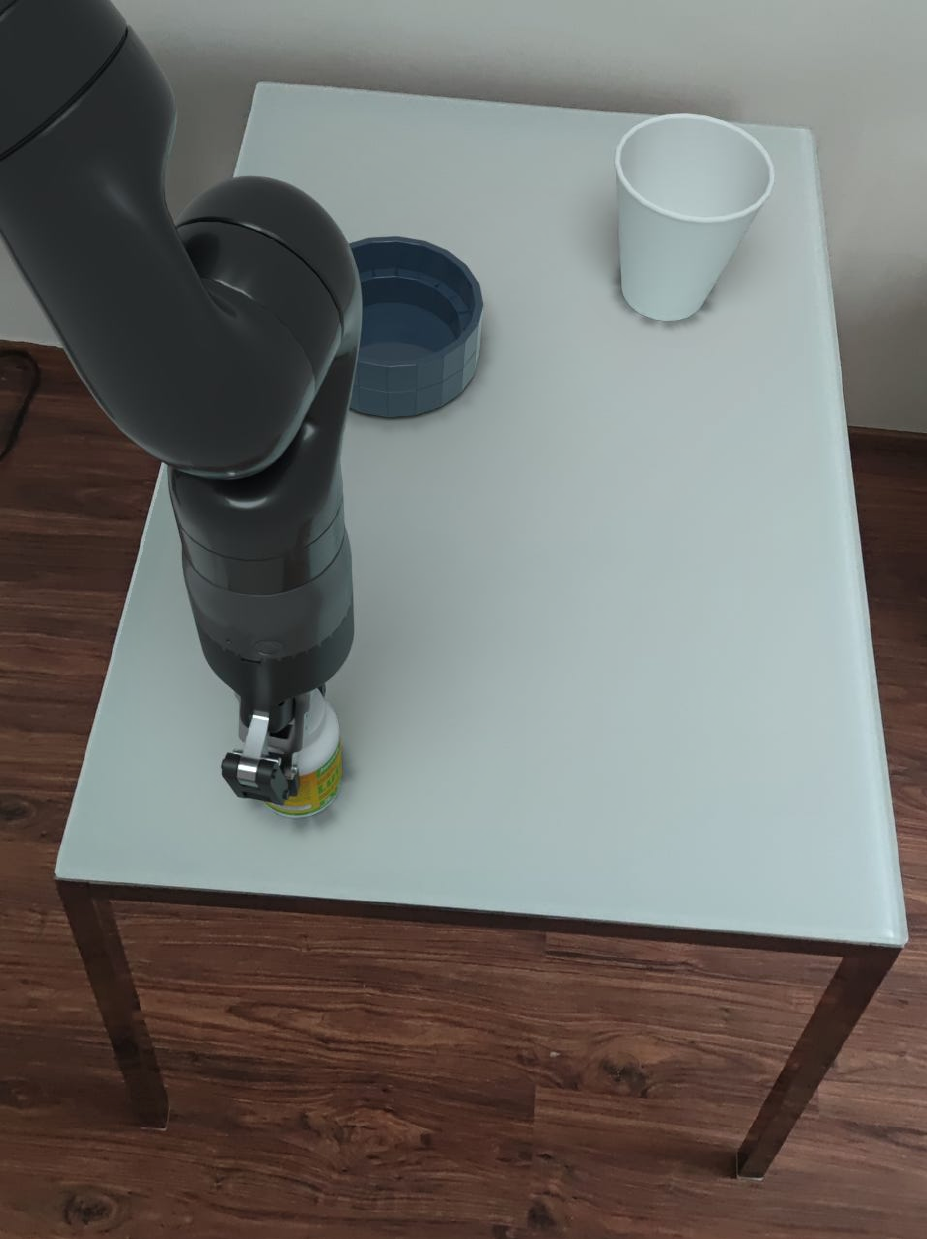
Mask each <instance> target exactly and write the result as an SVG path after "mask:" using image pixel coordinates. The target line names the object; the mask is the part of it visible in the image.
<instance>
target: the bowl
mask: <svg viewBox="0 0 927 1239" xmlns="http://www.w3.org/2000/svg"><path fill="white" fill-rule="evenodd" d="M348 244H349V246H350V248H351V250H352V253H353V256H354V259H355V262H356V265H357V268H358V272H359V276H360V281H361V288H362V300H363V311H362V329H361V338H360V346H359V353H358V359H357V366H356V372H355V378H354V384H353V390H352V396H351V401H350V406H349V409H351V410H355V411H357V412H359V413H360V414H361V413H363V414H366V415H367V414H368V415H373V416H379V417H384V418H385V417H386V418H392V417H393V418H394V417H407V416H408V417H409V416H415V415H416V416H418V415H420V414H423V413H426V412H429V411H433V410H436V409H438V408H441V407H443V406H445V405H446V404H448V402H450V401H451V400H453V399H454V398H456V397H458V396H459V395H460V394H461V393H462V392H463V391H464V390H465V388H466V387H467V385H468V384H469V383H470V381H471V380H472V379H473V377H474V376H475V374H476V370H477V366H478V361H479V357H480V347H481V336H482V324H483V313H484V312H483V311H484V300H483V295H482V290H481V289H482V288H481V285H480V282H479V281H478V279H477V278H476V277H475V275H474V274H473V272H472V271H471V269H470V268H469V266H468V265H467V264H466V263H465V262H464V261H462V260H461V259H460V258H458V257H457V256H456V255H455V254H453V253H452V252H451V251H449V250H448V249H445V248H444V247H441V246H438V245H436V244H434V243H431V242H429V241H427V240H422V239H419V238H418V239H417V238H412V237H405V236H401V235H391V236H390V235H389V236H371V237H366V238H362V239H358V240H355V241H352V242H348Z"/></svg>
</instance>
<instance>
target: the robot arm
mask: <svg viewBox="0 0 927 1239" xmlns="http://www.w3.org/2000/svg"><path fill="white" fill-rule="evenodd" d="M177 121H178V105H177V98H176V96H175V92H174V90H173V88H172V85H171V83H170V81H169V79H168V77H167V75H166V74H165V72H164V71H163V69H162V67H161V66H160V65H159V63H158V61H157V59H155V57H154V56H153V54H152V53H151V51H150V50H149V49H148V47H147V46H146V45H145V43H144V41H143V40H142V39H141V38H140V36H139V35H138V33H136V31H135V30H134V29H133V27H132V26H131V25H130V24H127V20H126V19H125V17H124V16H123V15H122V13H121V12H120V10H119V9H118V8H117V7H116V5H115V4H114V3H113V2H112V0H0V242H1V245H2V246H3V247H4V249H5V252H6V253H7V255H8V257H9V258H10V261H11V262H12V264H13V266H14V267H15V269H16V271H17V273H18V274H19V277H20V278H21V280H22V282H23V283H24V285H25V287H26V288H27V289H28V291H29V293H30V294H31V296H32V298H33V299H34V301H35V303H36V305H37V306H38V308H39V309H40V311H41V313H42V315H43V316H44V318H45V319H46V321H47V323H48V325H49V326H50V328H51V330H52V332H53V333H54V335H55V337H56V338H57V340H58V342H59V344H60V345H61V347H62V349H63V351H64V352H65V354H66V356H67V357H68V360H69V361H70V363H71V364H72V367H73V368H74V370H75V371H76V373H77V374H78V376H79V378H80V379H81V381H82V382H83V385H85V387H86V389H87V390H88V392H89V393H90V394H91V396H92V398H93V399H94V401H95V402H96V404H97V405H98V406H99V407H100V409H101V410H102V411H103V413H105V415H106V416H107V417H108V418H109V420H111V422H112V423H113V424H114V425H115V426H116V427H117V429H118V430H119V431H120V432H122V433H123V434H124V435H125V436H126V437H127V438H128V439H129V440H130V441H131V442H133V443H134V444H135V445H136V446H137V447H139V448H140V449H141V450H143V451H144V452H145V453H146V454H148V455H149V456H151V457H153V458H154V459H156V460H158V461H160V462H161V463H163V464H164V465H166V466H167V467H166V472H167V485H168V486H167V487H168V493H169V499H170V504H171V508H172V511H173V515H174V520H175V524H176V527H177V532H178V535H179V540H180V543H181V569H182V574H183V580H184V584H185V588H186V592H187V596H188V600H189V604H190V608H191V611H192V615H193V619H194V624H195V627H196V632H197V635H198V636H197V637H198V640H199V643H200V647H201V648H200V649H201V651H202V654H203V656H204V659H205V661H206V663H207V665H208V666H209V668H210V669H211V671H212V672H213V673H214V674H215V675H216V676H217V677H218V679H220V680H221V681H222V682H223V683H224V684H225V685H226V686H227V687H228V688H230V689H231V690H232V691H234V697H235V698H236V700H237V701H238V738H239V740H241V741H242V742H243V743H244V744H243V749H239V748H234V749H232V752H226V754H225V756H224V758H223V759H222V761H221V764H220V769H221V776H222V778H223V780H224V781H225V782H226V784H228V786H229V788H230V789H231V791H232V792H233V793H234V795H235V796H236V797H237V798H239V799H240V798H241V799H249V800H255V801H261V802H262V801H265V802H270V803H274V804H276V805H281V806H283V805H284V803H285V800H288V799H289V796H291V797H295V796H297V795H298V791H299V787H300V777H299V770H298V762H297V754H298V752H299V751H301V749H302V747H303V745H304V742H305V739H306V737H307V734H308V726H309V711H310V706H311V704H312V701H313V698H314V696H315V692H316V688H317V689H318V690H319V691H320V693H321V694H322V696H323V698H324V699H325V695H326V692H327V688H326V687H327V686H326V683H327V682H328V681H330V680H331V679H332V678H333V677H334V676H335V675H336V674H337V673H338V672H339V671H340V670H341V668H342V667H343V665H344V664H345V662H346V661H347V659H348V657H349V656H350V653H351V651H352V648H353V644H354V639H355V604H354V584H353V582H354V581H353V556H352V555H353V554H352V548H351V541H350V537H349V533H348V530H347V527H346V522H345V521H346V520H345V501H344V500H345V499H344V480H343V472H342V465H341V457H342V450H343V442H344V436H345V431H346V427H347V426H346V425H347V421H348V416H349V411H350V407H349V406H350V401H351V396H352V390H353V384H354V378H355V372H356V366H357V359H358V353H359V346H360V338H361V329H362V311H363V300H362V288H361V281H360V276H359V272H358V268H357V265H356V262H355V259H354V256H353V253H352V250H351V248H350V246H349V244H348V243H349V241H348V239H347V238H346V236H345V234H344V233H343V230H342V229H341V228H340V226H339V225H338V223H337V222H336V221H335V219H334V218H333V216H332V215H330V213H329V212H328V211H327V210H326V209H325V208H324V207H323V206H322V205H321V204H320V203H319V202H318V201H317V200H315V199H314V198H313V197H312V196H311V195H309V194H308V193H307V192H305V191H304V190H302V189H301V188H298V187H297V186H296V185H294V184H292V183H289V182H287V181H284V180H281V179H277V178H273V177H269V176H264V175H263V176H262V175H240V176H239V175H237V176H233V177H230V178H229V177H228V178H226V179H224V180H221V181H219V182H217V183H213V184H212V185H210V186H208V187H207V188H205V189H204V190H202V191H200V192H199V193H198V194H197V195H196V196H195V197H194V198H193V199H192V200H190V201H189V202H188V203H187V204H186V205H185V206H184V208H183V209H182V210H181V211H180V212H179V214H178V215H177V217H175V220H173V217H172V215H171V213H170V211H169V207H168V203H167V198H166V188H165V187H166V186H165V184H166V175H167V168H168V163H169V159H170V155H171V152H172V147H173V143H174V139H175V134H176V129H177ZM294 718H295V719H294ZM293 720H294V724H293V725H291V724H289V723H290V722H291V721H293ZM268 747H273V748H279V749H281V750H282V751H283V752H284V754H280V753H275V752H270V751H269V750H268Z"/></svg>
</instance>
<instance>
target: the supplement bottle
mask: <svg viewBox="0 0 927 1239" xmlns="http://www.w3.org/2000/svg"><path fill="white" fill-rule="evenodd" d="M294 719H295V718H294ZM289 724H291V725H293V724H294V720H293V721H291V722H290V723H289ZM340 728H341V727H340V723H339V719H338V716H337V713H336V711H335V710H334V707H333V706H332V705H331V704H330V703H329V702H328V701H327V700H326V699H325V697H324V698H323V696H322V694H321V693H320V691H319V690H318V689H317V688H316V692H315V696H314V698H313V701H312V704H311V706H310V711H309V726H308V734H307V737H306V739H305V742H304V745H303V747H302V749H301V751H299V752H298V754H297V762H298V770H299V777H300V787H299V791H298V795H297V796H295V797H291V796H289V799H288V800H285V803H284V805H283V806H281V805H276V804H274V803H270V802H265V801H261V802H262V803H263V804H264V806H266V808H267V809H269V810H270V811H272V812H274V813H276V814H277V815H280V816H282V817H287V818H291V819H292V818H293V819H301V818H307V817H311V816H314V815H316V814H319V813H320V812H322V811H323V810H326V808H328V807H329V806H330V805H331V804H332V803H333V802H334V800H335V799H336V797H337V795H338V794H339V792H340V790H341V786H342V782H343V761H342V746H341V743H342V742H341V729H340ZM268 750H269V751H270V752H275V753H280V754H284V752H283V751H282V750H281V749H279V748H273V747H268Z"/></svg>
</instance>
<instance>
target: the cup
mask: <svg viewBox="0 0 927 1239" xmlns="http://www.w3.org/2000/svg"><path fill="white" fill-rule="evenodd" d="M613 162H614V163H613V167H614V170H615V182H616V184H615V185H616V198H617V200H616V201H617V221H618V222H617V223H618V242H619V244H618V245H619V262H620V285H621V286H620V287H621V292H622V296H623V298H624V300H625V301H626V303H627V305H629V307H630V308H632V309H633V310H634V311H635V312H636V313H639V314H640V315H642V316H644V317H646V318H649V319H652V320H655V321H661V322H662V321H663V322H676V321H680V320H681V321H682V320H685V319H687V318H689V317H691V316H693V315H694V314H696V313H698V311H699V310H700V308H701V307H702V306H703V304H704V302H705V301H706V300H707V298H708V296H709V294H710V293H711V291H712V290H713V288H714V287H715V284H716V283H717V281H718V279H719V278H720V276H721V275H722V273H723V272H724V270H725V268H726V266H727V265H728V263H729V262H730V260H731V258H732V257H733V256H734V254H735V252H736V250H737V249H738V247H739V245H740V244H741V242H742V240H743V238H744V237H745V235H746V234H747V232H748V230H749V229H750V227H751V225H752V224H753V222H754V221H755V219H756V217H757V216H758V214H759V212H760V211H761V208H762V207H763V206H764V204H765V202H767V200H769V198H770V197H771V194H772V192H773V189H774V187H775V185H776V170H775V165H774V163H773V161H772V157H771V156H770V154H769V153H768V151H767V150H766V149H765V147H764V146H763V145H762V144H761V142H760V141H759V140H757V139H756V138H755V137H754V136H753V135H751V134H750V133H749V132H747V131H746V130H744V129H743V128H741V127H739V126H737V125H735V124H732V123H731V122H728V121H726V120H723V119H719V118H716V117H713V116H709V115H705V114H697V113H688V112H685V113H684V112H683V113H682V112H681V113H665V114H662V115H658V116H653V117H650V118H647V119H646V120H643V121H642V122H639V123H638V124H635V125H633V126H632V127H631V128H630V129H628V131H627V132H626V133H624V134H623V135H622V136H621V138H620V140H619V142H618V144H617V146H616V148H615V149H614V161H613Z"/></svg>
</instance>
